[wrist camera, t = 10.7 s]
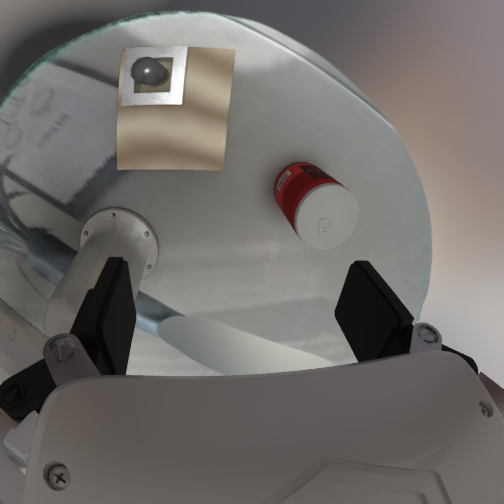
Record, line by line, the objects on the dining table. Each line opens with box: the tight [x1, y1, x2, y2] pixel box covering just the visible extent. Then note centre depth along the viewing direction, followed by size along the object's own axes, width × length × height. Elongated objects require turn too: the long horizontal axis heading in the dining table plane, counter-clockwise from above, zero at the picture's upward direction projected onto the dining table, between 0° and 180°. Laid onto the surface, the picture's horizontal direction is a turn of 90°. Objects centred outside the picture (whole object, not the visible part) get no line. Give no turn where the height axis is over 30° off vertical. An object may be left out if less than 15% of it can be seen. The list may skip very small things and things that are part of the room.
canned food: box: [275, 163, 359, 251], centre depth 35 cm, size 8×8×11 cm
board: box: [117, 47, 236, 171], centre depth 31 cm, size 16×14×1 cm
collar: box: [121, 46, 190, 106], centre depth 27 cm, size 7×7×4 cm
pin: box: [131, 57, 169, 87], centre depth 25 cm, size 3×3×8 cm
